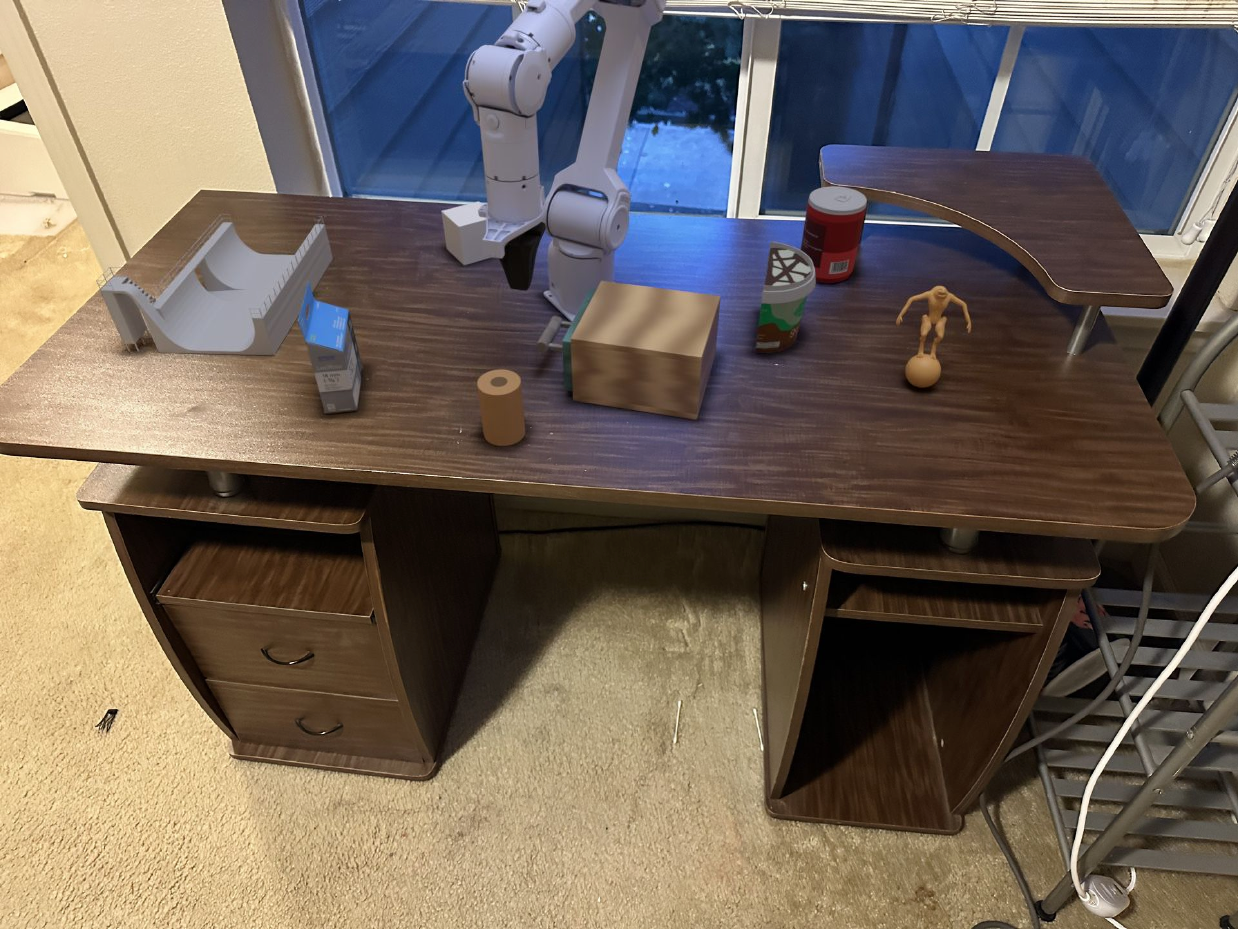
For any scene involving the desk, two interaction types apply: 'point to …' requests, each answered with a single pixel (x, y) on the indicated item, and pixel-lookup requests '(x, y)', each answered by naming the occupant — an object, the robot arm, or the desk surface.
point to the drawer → (552, 331)
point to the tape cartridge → (332, 353)
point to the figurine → (924, 366)
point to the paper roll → (501, 407)
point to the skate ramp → (222, 297)
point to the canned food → (833, 231)
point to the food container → (783, 297)
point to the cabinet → (645, 349)
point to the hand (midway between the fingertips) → (520, 287)
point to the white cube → (465, 232)
